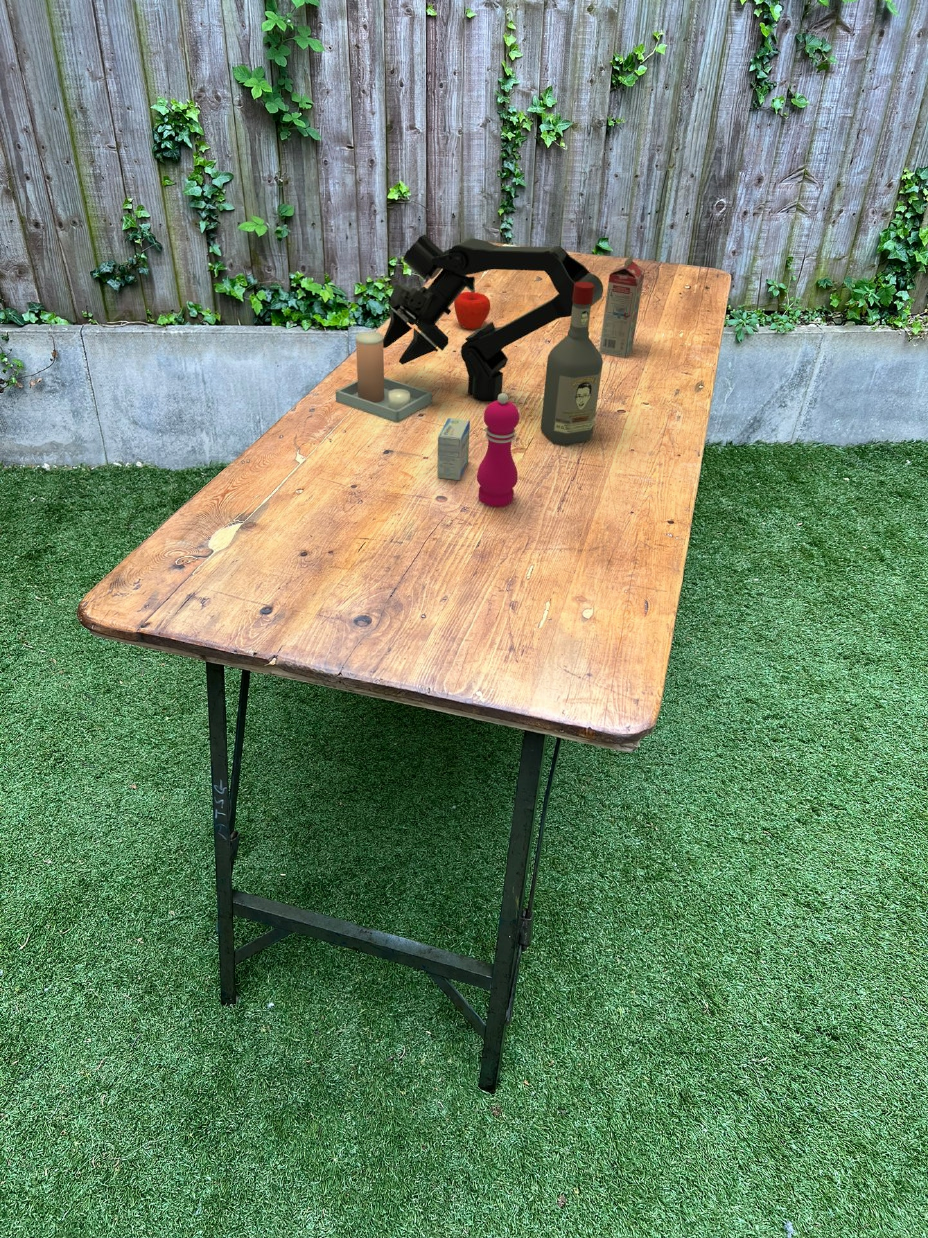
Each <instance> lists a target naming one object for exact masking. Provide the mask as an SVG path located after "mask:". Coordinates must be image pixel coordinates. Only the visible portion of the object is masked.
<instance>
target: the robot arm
mask: <svg viewBox="0 0 928 1238" xmlns="http://www.w3.org/2000/svg"><path fill="white" fill-rule="evenodd" d="M402 259H403V262H404V263H405V264H406V265H407V266H408V267H410V269H412V271H414V272H415V273H416V274H417V275H419V277H421V278H422V279H423V280H424V281H426V280H427V279H429V278H430V279H431V280H433V279H434V280H433V281H432V282H431V283H430V284H429V286H427V288H426V287H425V286H421V287H420V288H419V289H416V288H414V287H409V286H406V285H403V284H401V283H398V282H395V284H394V287H393V289H392V292H391V294H390V300H389V301H388V302H387V305H388V306H390V307H388V311H389V317H390V321H389V324H388V326H387V329H386V331H385V334H384V335H383V349H387V348H389V347H390V346H391V345H393V344H394V343H395V342H396V341H398V340H400V339H401V338H402V337H403V336H404V335H406V334H407V333H408V332H410V331H411V330H413V333H412V334H413V336H412V337H413V338H412V340H411V341H410V343H409V344H408V346H407V348H405V350H404V352H403V353H402V354H401V356H400V357H399V359H398V362H399V364H400V365H405V364H408V363H410V362H411V361H414V360H416V359H418V358H420V357H422V356H425V355H428V354H430V353H433V352H436V353H437V352H438V351H439V350H440V351H442V352H443V351H444V350H445V349H446V348H447V346H448V345H449V336H448V335H446V334H445V333H444V332H443V331H442V330H441V329H440V328H439V326H438V325H437V323H438V321H439V320H440V319H441V318H442V316H443V315H444V314H446V315H450V314H451V312H452V311H451V309H450V307H451V305H452V304H453V303H454V301H455V300H456V298H457V297H458V296H459V295H460V294H461V293H463V291H464V290H465V289H467V290H468V291H469V292H472V293H476V287H475V283H476V278H475V276H468V275H473V274H480V273H482V272H486V271H491V270H500V271H501V270H502V271H506V270H507V271H531V272H545V274H547V276H548V277H549V279H550V281H551V283H552V285H553V287H554V289H555V291H556V292H557V293H558V294H557V295H555V296H554V297H553V298H551V299H550V300H548V301H546V302H544V303H542V304H541V305H539V306H537V307H535V308H533V309H531V310H529V311H527V312H526V313H525V314H522V315H521V316H519V317H517V318H515V319H514V320H511V321H510V322H508V323H506V324H505V325H504V324H503V326H498V327H495V323H494V322H493V321H492V322H489V324H487V325H485V326H484V327H483V328H481V327H480V328H477V329H476V330H475V331H474V332H473V333H471V334H470V335H468V336H467V337H465V338H464V339H465V341H466V342H463V344H461V348H460V355H461V358H462V360H463V362H464V364H465V365H464V366H465V367H466V368H465V369H466V373H467V376H468V381H467V394H468V395H469V396H471V397H472V398H473V399H474V400H476V401H479V402H487V403H488V402H490V403H492V402H494V401H497V400H498V396H499V394H501V393H503V383H504V382H503V381H504V378H503V377H504V372H503V371H501V370H502V369H504V368H506V366H507V363H508V361H509V358H508V356H507V355H506V354H505V353H504V352H503V349H504V348H506V347H507V346H509V345H510V344H513V343H514V342H516V341H518V340H520V339H522V338H524V337H526V336H528V335H530V334H531V333H533V332H535V331H537V330H539V329H541V328H543V327H544V326H547V325H548V324H550V323H552V322H554V321H556V320H558V319H562V318H569V317H570V318H571V314H572V306H573V301H572V299H573V291H574V284H575V283H576V282H589V283H592V284H593V285H594V293H593V301H592V303H591V307H593V306H595V304H596V303H597V302H599V301H600V300H601V298H602V297H603V293H604V285H603V282H602V281H601V279H600V277H598V276H597V275H596V274H593V273H591V271H590V270H589V269H588V268H587V267H586V266H585V265H584V264H582V263H581V262H580V261H578V260H576V259H575V258H573V257H572V256H571V255H570V254H569V253H568V252H567V251H566V250H565V249H564V248H563V247H562V246H558V245H554V246H547V247H546V246H514V245H513V246H511V245H508V246H507V245H496V244H493V243H491V242H489V241H487V240H482V239H477V238H475V237H474V238H473V237H470V238H467V239H464V240H463V241H461V242H459V243H458V244H456V245H454V246H452V247H451V248H448V249H447V250H445V251H443V250H442V249H441V248H439V247H438V246H437V245H436V244H435V243H434V242H433V241H432V240H431V239H430V238H429V236H428V235H426V233H425V234H422V235H420V236H419V237H418V238H417V240H416V241H415V242H414V243H413V244H412V245H411V246H410V248H409V249H407V250H406V252H405V254H404V256H403V258H402ZM410 325H411V326H410ZM412 326H416V327H417V329H416V328H413V327H412ZM418 330H419V331H420V332H419V331H418Z"/></svg>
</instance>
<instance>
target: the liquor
mask: <svg viewBox="0 0 928 1238" xmlns="http://www.w3.org/2000/svg"><path fill="white" fill-rule="evenodd" d="M593 293H594V285H593V284H592V283H589V282H576V283H575V284H574V291H573V299H572V301H573V306H572V314H571V316H570V324H569V329H568V331H567V335H566V336H565V337H564V338H563V339H561V340H560V341H559V342H558V343H557V344H556V345H554V347H552V348H551V350H550V351H549V354H548V356H547V361H546V362H547V364H546V373H545V382H544V391H543V399H542V400H543V402H542V410H541V420H540V421H541V422H540V430H541V432H542V434H543V435H544V436H545V437H546V438H547V439H548V440H549V441H550V442H552V444H555V445H559V446H565V447H567V446H574V445H579V444H584V443H588V442H589V440H590V439H591V438H592V436H593V434H594V429H595V428H594V426H595V422H596V421H595V420H596V416H597V415H596V414H597V406H598V400H599V399H598V398H599V393H600V385H601V378H602V372H603V363H604V361H603V356H602V355H603V354H600V353H599V349H598V348H597V347H596V346H595V344H594V343H593V341H592V340H591V339H590V337H589V336H590V331H589V325H590V319H591V318H590V317H591V310H592V309H591V308H592V306H591V303H592V301H593Z"/></svg>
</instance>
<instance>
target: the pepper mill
mask: <svg viewBox="0 0 928 1238" xmlns="http://www.w3.org/2000/svg"><path fill="white" fill-rule="evenodd" d="M483 421H484V423H485V426H486V428H485V431H486V432H485V437H486V439H487V449H486V453H485V455H484V456H483V458H482V460H481V462H480V464H479V466H478V469H477V472H476V473H477V474H476V481H477V483H478V484H479V487H478V494H477V495H478V498H477V499H478V500H479V502H481V503H482V504H483V505H486V506H487V507H491V508H492V507H494V508H502V507H506V506H507V507H508V506H509V505H510V504H512V503H513V501H514V495H515V492H514V491H515V490H514V487H515V486H516V485H517V483H518V477H519V476H518V470H517V465H516V464H515V461H514V459H513V455H512V450H511V449H512V443H513V441H514V439H516V427H517V426H518V424H519V423H520V412H519V409H518V408H517V406H516V405H515V404H514V403H513V402H511V401H509V396H508V395H507V393H505V392H502V393H501V394H499V396H498V400H497V401H494V402H490V403H489V404H488V405H487V406H486V407H485V410H484V413H483Z"/></svg>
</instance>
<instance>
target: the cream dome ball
mask: <svg viewBox="0 0 928 1238" xmlns="http://www.w3.org/2000/svg"><path fill="white" fill-rule="evenodd" d="M409 403H410V392H409V391H407V390H404V389H394V390H391V391H390V392H389V408H391V409H394V410H399V409H400V408H402V407H404V406H406V405H407V404H409Z"/></svg>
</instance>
